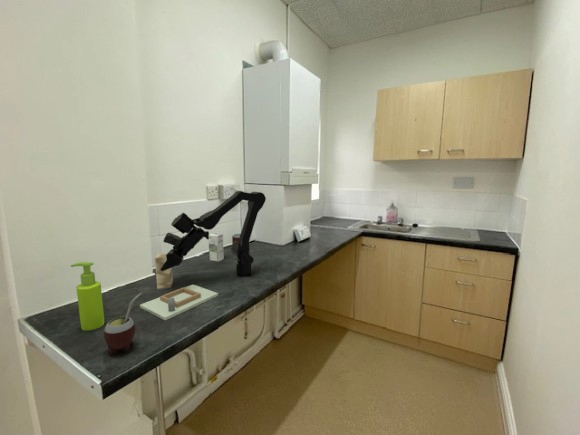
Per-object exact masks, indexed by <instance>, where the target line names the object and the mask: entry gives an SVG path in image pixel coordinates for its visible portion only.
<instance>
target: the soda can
mask: <svg viewBox="0 0 580 435" xmlns="http://www.w3.org/2000/svg"><path fill="white" fill-rule="evenodd" d="M240 234H241V233H235V234H233V235H232V236H231V239H232V241H231V242H232V243H231V244H232V246H233V242H234V241H235V242H237V241H238V239H239V238H240ZM232 246H231V247H232Z"/></svg>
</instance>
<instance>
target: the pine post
mask: <svg viewBox="0 0 580 435" xmlns="http://www.w3.org/2000/svg"><path fill="white" fill-rule="evenodd" d="M166 255H167V253H161V254H160V253H159V254H157V255H156V256H155V258H154V259H155V260H154V263H155V275H156V278H155V279H156V289H157V290H159V289H171V287H172V285H173V282H174V280H173V279H174V278H173V267H172V268H169V269H167V270H164V271H161V270H160V269H161V268H162V266H163V265H164V263H165V262H166V260H167V258H166Z"/></svg>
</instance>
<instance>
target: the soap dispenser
mask: <svg viewBox="0 0 580 435" xmlns="http://www.w3.org/2000/svg"><path fill="white" fill-rule="evenodd" d="M92 265H94V262H92V261H90V262H89V261H87V262H86V261H80V262H76V263H73V264H71V265H70V267H71V268H74V267H82V269H83V272H82V273H81V274H80V282H81V284H79V285H76V294H77V303H78V304H77V305H78V313H79V320H80V321H79V322H80V329H81V330H82V331H87V332H88V331H92V330H93V331H94V330H96V329H99V328H101V327H102V326H104V324H105V314H104V304H103V294H102V293H103V292H102V285H101V282H100V281H96V276H95V274H96V273H95V272H94V271H92V270H91V266H92Z"/></svg>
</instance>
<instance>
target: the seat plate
mask: <svg viewBox="0 0 580 435" xmlns="http://www.w3.org/2000/svg"><path fill="white" fill-rule="evenodd" d="M216 297H219V292H216V291H213V290H210V289H207V288H204V287H202V286H199V285H195V284H191V285H187V286H183V287H180V288H178V289H174V290H173V291H171V292H167V293H165V294H163V295H160V296H159V297H157V298H154V299H152V300H149V301H147V302H143V303H140V304H139V308H140V309H142V310H144V311H146V312H148V313H150V314H151V315H154V316H156V317H158V318H159V319H161V320H164V321H168V320H169V319H172V318H174V317H175V316H178V315H179V314H182V313H184V312H186V311H188V310H190V309H193V308H196V307H197V306H200V305H201V304H203V303H206V302H209V301H210V300H212V299H214V298H216Z"/></svg>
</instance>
